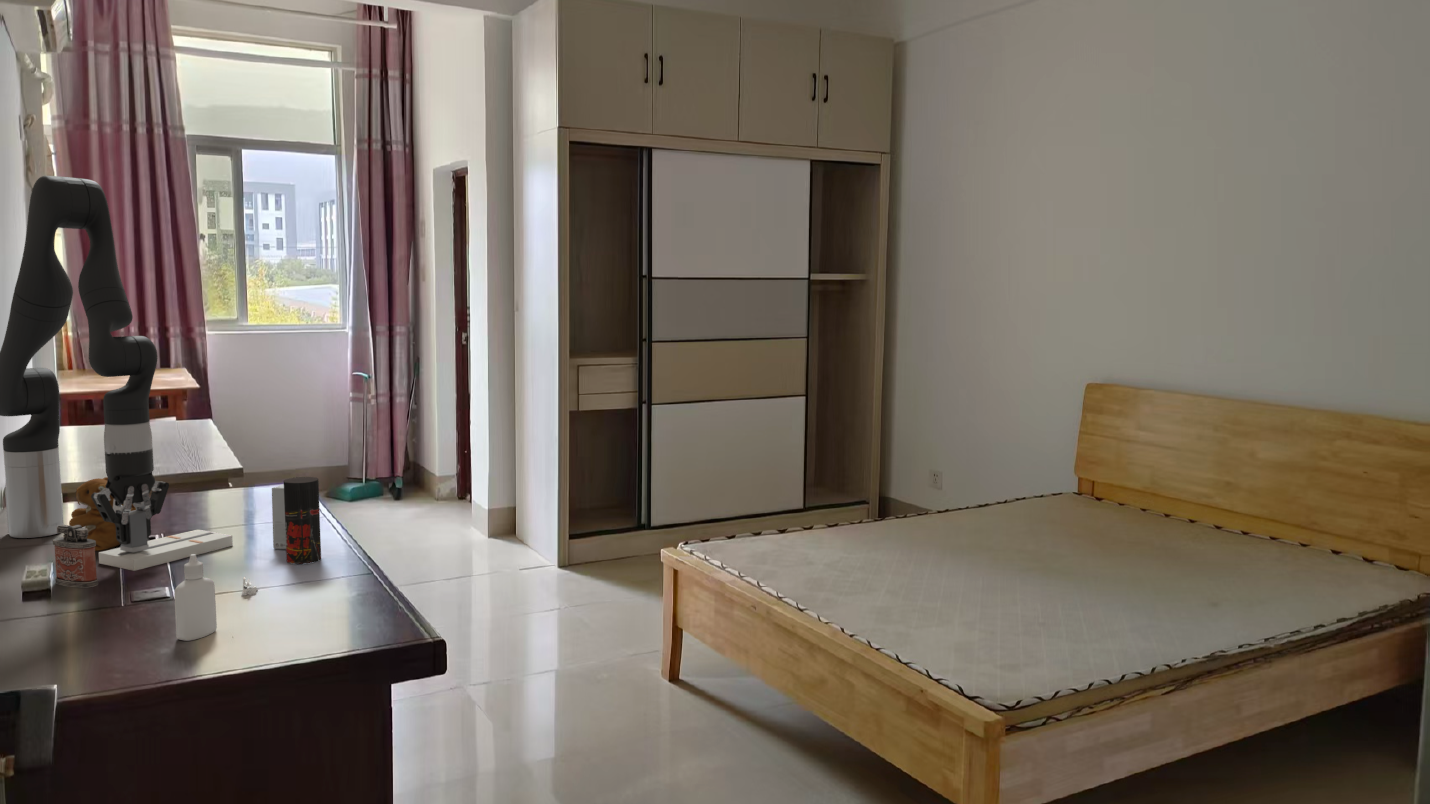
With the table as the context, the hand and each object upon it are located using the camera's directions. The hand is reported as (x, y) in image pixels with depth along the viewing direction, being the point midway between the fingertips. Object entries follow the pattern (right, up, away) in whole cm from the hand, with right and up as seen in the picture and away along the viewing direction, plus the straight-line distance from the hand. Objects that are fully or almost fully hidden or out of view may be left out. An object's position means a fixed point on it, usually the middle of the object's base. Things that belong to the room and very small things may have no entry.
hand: (134, 541), depth 187 cm
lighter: (-3, -6, -13) cm, 14 cm away
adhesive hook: (+30, -7, -17) cm, 35 cm away
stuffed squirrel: (-11, -3, +13) cm, 17 cm away
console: (+3, -3, +6) cm, 8 cm away
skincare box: (+23, -3, +13) cm, 27 cm away
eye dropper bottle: (+30, -9, -37) cm, 49 cm away
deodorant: (+30, -4, +3) cm, 30 cm away
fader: (0, -2, 0) cm, 2 cm away
